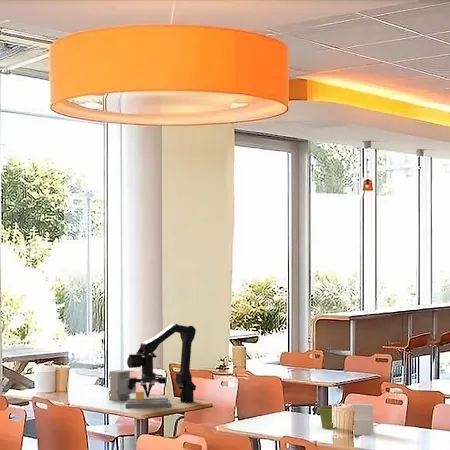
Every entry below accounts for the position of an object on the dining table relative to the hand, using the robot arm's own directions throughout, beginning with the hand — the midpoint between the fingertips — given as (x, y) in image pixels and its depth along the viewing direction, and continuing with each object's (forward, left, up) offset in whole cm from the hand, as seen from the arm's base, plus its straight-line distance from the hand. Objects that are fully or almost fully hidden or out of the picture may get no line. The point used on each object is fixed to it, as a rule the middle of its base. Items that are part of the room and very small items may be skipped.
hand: (147, 397), depth 482 cm
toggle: (+4, 0, -2) cm, 4 cm away
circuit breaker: (+14, -24, -4) cm, 28 cm away
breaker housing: (0, 0, -4) cm, 4 cm away
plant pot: (-81, +75, -4) cm, 111 cm away
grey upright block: (-93, +89, -4) cm, 129 cm away
